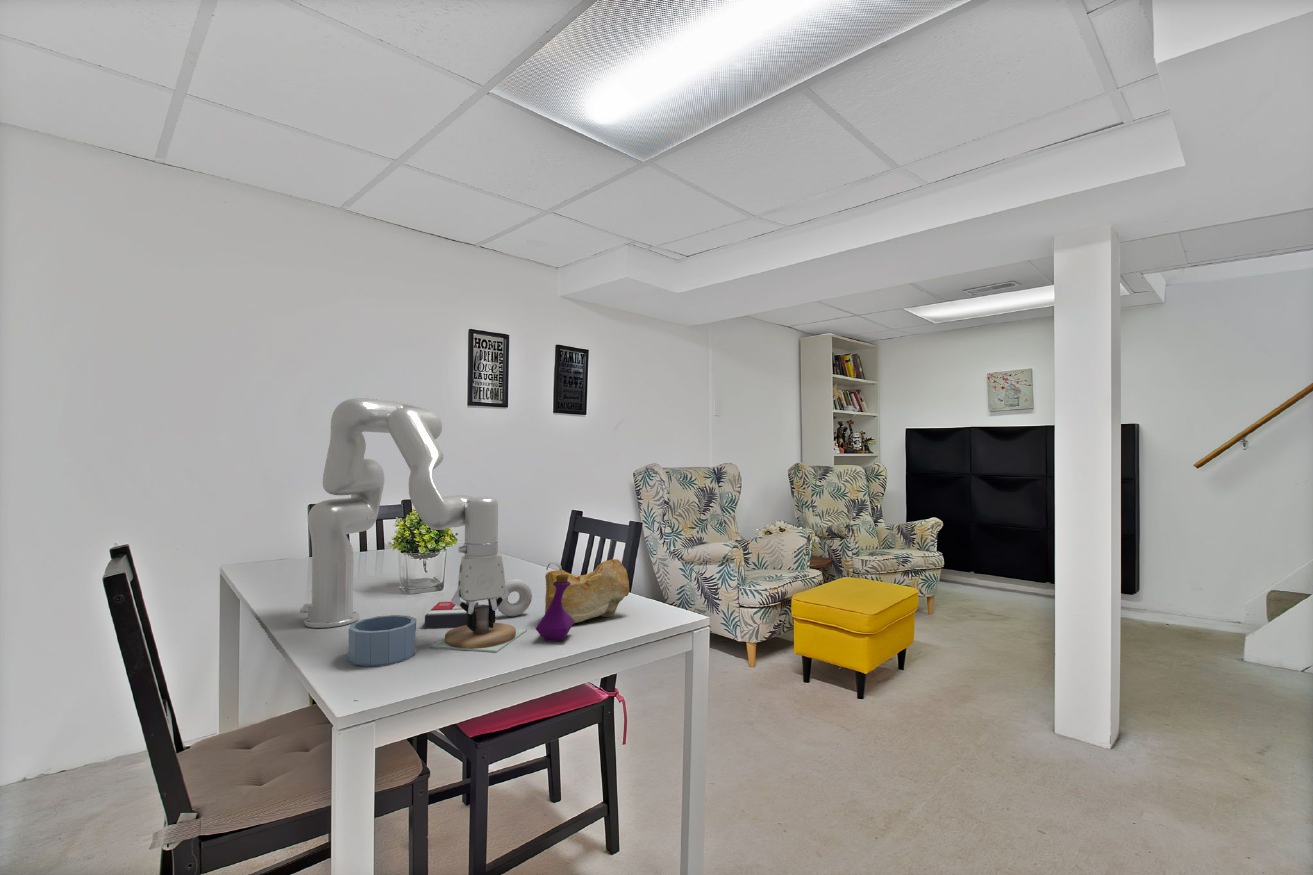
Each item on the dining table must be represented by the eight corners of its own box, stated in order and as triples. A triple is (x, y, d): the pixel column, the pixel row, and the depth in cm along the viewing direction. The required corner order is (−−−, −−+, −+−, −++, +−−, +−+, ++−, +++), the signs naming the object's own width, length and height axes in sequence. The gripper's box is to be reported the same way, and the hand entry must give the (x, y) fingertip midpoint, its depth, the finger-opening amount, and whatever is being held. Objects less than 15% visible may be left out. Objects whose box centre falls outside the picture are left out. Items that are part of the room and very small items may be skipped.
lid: (430, 645, 136) (431, 613, 136) (467, 625, 151) (467, 596, 152) (496, 650, 132) (496, 617, 133) (526, 629, 148) (526, 600, 148)
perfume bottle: (574, 634, 146) (574, 559, 146) (567, 643, 138) (567, 565, 139) (544, 633, 147) (544, 558, 147) (535, 642, 139) (535, 564, 140)
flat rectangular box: (478, 599, 167) (470, 610, 152) (478, 615, 167) (469, 628, 152) (437, 600, 165) (424, 612, 150) (437, 616, 165) (424, 629, 150)
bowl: (335, 664, 125) (335, 630, 125) (376, 644, 138) (376, 613, 138) (390, 668, 123) (391, 634, 123) (427, 648, 135) (427, 616, 135)
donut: (496, 620, 158) (496, 581, 158) (493, 617, 161) (493, 579, 161) (533, 615, 163) (533, 578, 163) (529, 612, 166) (530, 575, 166)
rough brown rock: (611, 607, 175) (608, 554, 176) (636, 615, 160) (632, 558, 161) (532, 620, 164) (529, 564, 165) (551, 630, 149) (547, 569, 150)
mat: (430, 647, 136) (430, 645, 136) (466, 627, 151) (466, 625, 151) (496, 652, 132) (496, 650, 132) (526, 631, 148) (526, 629, 148)
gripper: (449, 555, 135) (449, 638, 134) (520, 548, 144) (520, 626, 143) (441, 550, 141) (440, 629, 141) (509, 544, 150) (509, 618, 150)
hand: (480, 627), depth 142 cm, fingers closed on lid, 3 cm apart
